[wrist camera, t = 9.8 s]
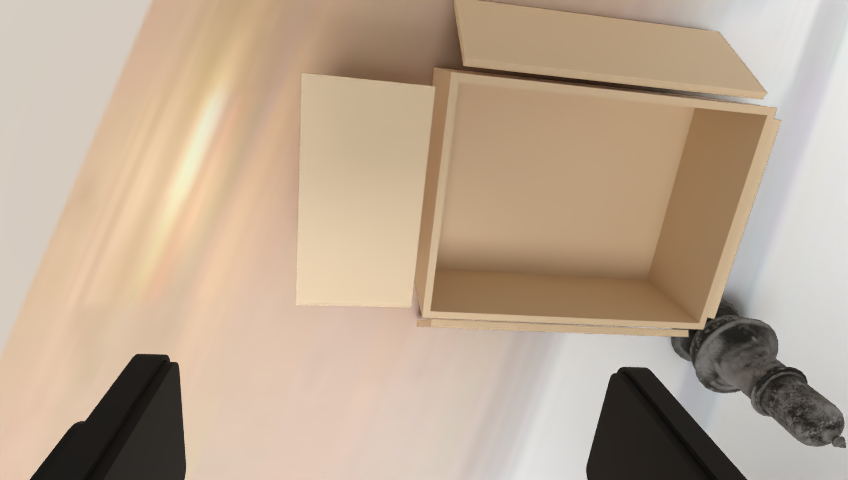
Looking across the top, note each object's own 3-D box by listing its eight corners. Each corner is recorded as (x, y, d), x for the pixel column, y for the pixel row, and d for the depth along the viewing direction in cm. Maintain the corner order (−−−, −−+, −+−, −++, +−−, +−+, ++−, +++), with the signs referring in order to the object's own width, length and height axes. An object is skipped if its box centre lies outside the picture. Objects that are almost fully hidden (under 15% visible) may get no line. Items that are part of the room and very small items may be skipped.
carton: (773, 40, 31) (869, 39, 25) (681, 330, 38) (740, 383, 32) (441, -3, 28) (462, -16, 22) (406, 319, 35) (415, 374, 29)
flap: (435, 86, 24) (301, 72, 23) (411, 307, 27) (296, 304, 26) (434, 86, 24) (302, 72, 23) (410, 303, 28) (296, 301, 27)
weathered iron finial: (701, 376, 40) (833, 505, 29) (651, 340, 38) (770, 462, 27) (758, 320, 38) (918, 432, 27) (708, 280, 37) (858, 382, 26)
